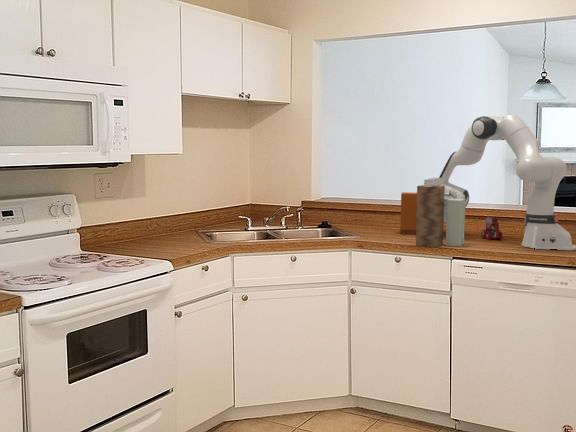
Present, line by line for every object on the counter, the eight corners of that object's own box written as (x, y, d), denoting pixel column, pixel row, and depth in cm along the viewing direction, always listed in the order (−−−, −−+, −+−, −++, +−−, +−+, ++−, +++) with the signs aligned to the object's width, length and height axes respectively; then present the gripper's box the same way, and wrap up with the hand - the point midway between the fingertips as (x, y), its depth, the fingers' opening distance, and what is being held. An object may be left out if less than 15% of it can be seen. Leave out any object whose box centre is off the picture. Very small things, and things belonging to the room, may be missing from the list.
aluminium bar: (441, 184, 310) (441, 177, 310) (430, 186, 292) (431, 179, 292) (434, 184, 312) (434, 177, 311) (424, 186, 294) (424, 179, 293)
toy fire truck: (489, 241, 315) (490, 218, 314) (479, 237, 327) (480, 215, 326) (504, 241, 315) (505, 218, 314) (493, 237, 328) (494, 215, 327)
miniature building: (419, 234, 335) (420, 194, 333) (400, 234, 337) (401, 193, 335) (419, 232, 345) (420, 192, 343) (401, 231, 347) (402, 192, 344)
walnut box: (442, 244, 304) (444, 185, 301) (438, 246, 296) (440, 186, 293) (420, 242, 308) (422, 185, 305) (415, 245, 300) (417, 186, 297)
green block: (463, 243, 306) (465, 199, 304) (459, 246, 297) (461, 200, 295) (450, 242, 309) (451, 198, 307) (445, 245, 300) (447, 200, 298)
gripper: (425, 197, 334) (419, 184, 323) (467, 199, 326) (463, 186, 314) (423, 208, 332) (417, 196, 320) (465, 211, 323) (461, 198, 312)
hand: (440, 191), depth 317 cm, fingers open, 8 cm apart
